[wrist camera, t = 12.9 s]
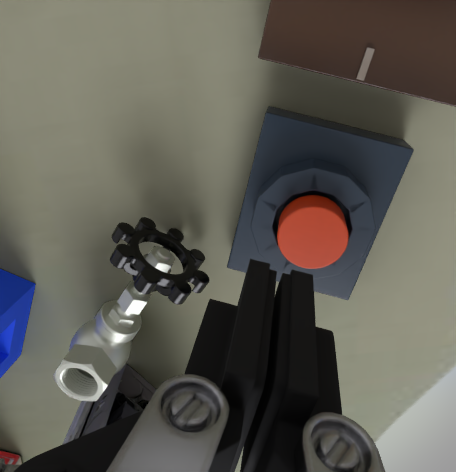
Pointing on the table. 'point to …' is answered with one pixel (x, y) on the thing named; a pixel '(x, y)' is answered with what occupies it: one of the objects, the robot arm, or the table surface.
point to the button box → (318, 191)
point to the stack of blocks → (10, 458)
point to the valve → (127, 307)
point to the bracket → (13, 316)
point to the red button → (312, 232)
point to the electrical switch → (111, 403)
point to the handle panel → (369, 42)
